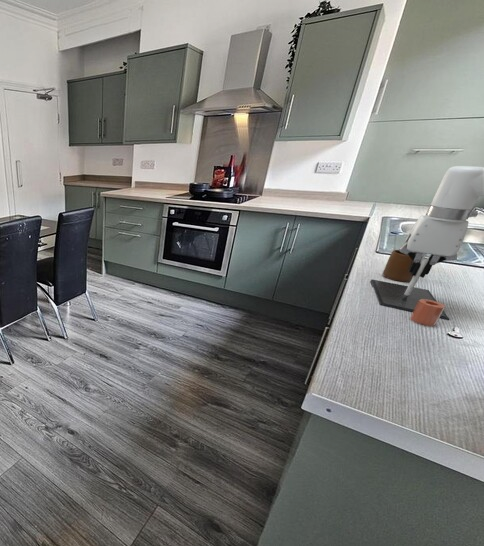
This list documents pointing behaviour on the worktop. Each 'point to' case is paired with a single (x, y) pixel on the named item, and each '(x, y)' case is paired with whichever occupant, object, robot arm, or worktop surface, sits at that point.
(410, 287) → the stylus
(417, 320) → the pen pot
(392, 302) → the plate
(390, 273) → the mug
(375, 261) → the worktop surface
